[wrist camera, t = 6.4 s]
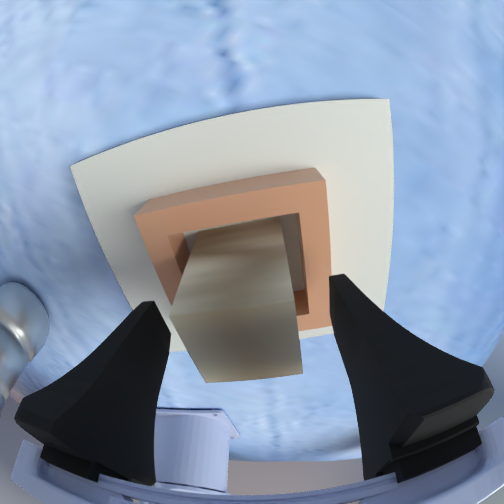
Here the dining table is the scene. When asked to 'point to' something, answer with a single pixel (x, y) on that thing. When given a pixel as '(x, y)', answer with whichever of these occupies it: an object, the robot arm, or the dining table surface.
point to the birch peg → (239, 304)
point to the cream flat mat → (246, 166)
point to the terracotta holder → (239, 210)
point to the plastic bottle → (19, 333)
